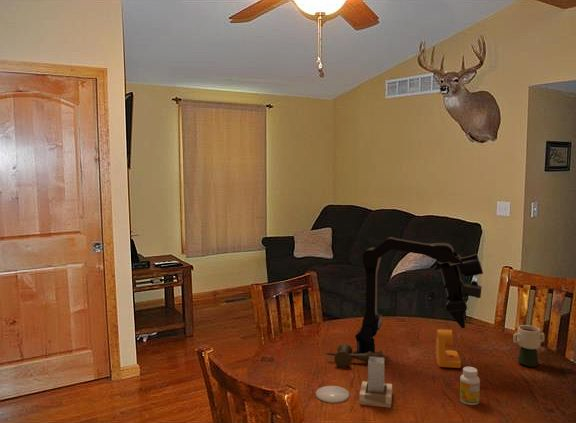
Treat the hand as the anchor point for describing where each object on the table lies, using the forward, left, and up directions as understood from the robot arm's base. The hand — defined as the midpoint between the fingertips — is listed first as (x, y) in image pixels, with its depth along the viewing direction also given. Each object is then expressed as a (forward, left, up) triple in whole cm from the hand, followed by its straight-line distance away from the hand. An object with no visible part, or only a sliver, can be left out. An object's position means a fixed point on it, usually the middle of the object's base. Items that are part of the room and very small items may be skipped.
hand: (464, 323), depth 163 cm
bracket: (-5, -1, -16) cm, 17 cm away
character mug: (+11, +21, -16) cm, 28 cm away
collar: (+1, -40, -15) cm, 43 cm away
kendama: (-24, -29, -16) cm, 41 cm away
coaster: (-8, -50, -15) cm, 53 cm away
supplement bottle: (+17, -18, -16) cm, 29 cm away
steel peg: (+1, -40, -15) cm, 43 cm away
